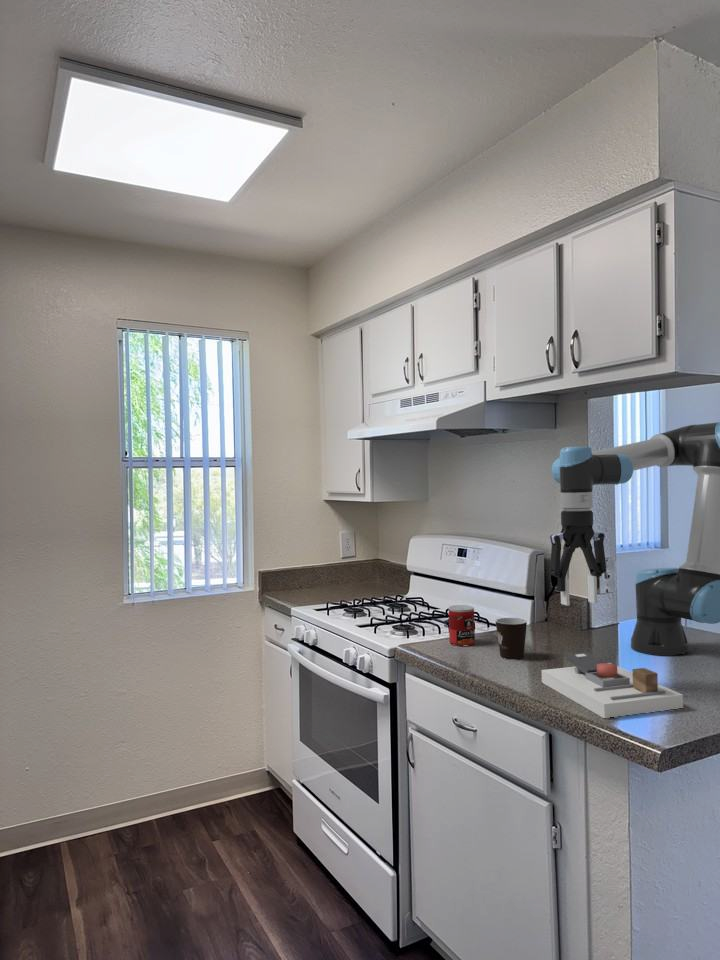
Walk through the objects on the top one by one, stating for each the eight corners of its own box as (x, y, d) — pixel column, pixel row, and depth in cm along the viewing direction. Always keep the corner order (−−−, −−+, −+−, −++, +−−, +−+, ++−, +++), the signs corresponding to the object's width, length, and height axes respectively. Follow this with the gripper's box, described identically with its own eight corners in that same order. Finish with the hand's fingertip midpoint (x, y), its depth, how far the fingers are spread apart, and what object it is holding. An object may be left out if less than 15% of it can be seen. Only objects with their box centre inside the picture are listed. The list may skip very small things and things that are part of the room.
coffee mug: (528, 661, 184) (527, 624, 183) (496, 660, 185) (495, 623, 185) (526, 650, 195) (525, 615, 195) (496, 649, 197) (495, 615, 197)
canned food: (458, 647, 199) (457, 610, 199) (444, 642, 207) (443, 606, 207) (480, 644, 203) (479, 608, 202) (465, 639, 210) (464, 603, 210)
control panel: (610, 674, 169) (609, 657, 169) (683, 708, 144) (682, 688, 144) (541, 682, 165) (541, 664, 165) (604, 718, 139) (604, 697, 139)
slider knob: (644, 685, 150) (644, 667, 150) (657, 691, 146) (657, 673, 146) (632, 687, 149) (632, 669, 149) (645, 693, 145) (645, 674, 145)
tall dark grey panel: (588, 656, 167) (588, 651, 167) (609, 672, 159) (610, 667, 158) (566, 658, 166) (566, 653, 165) (586, 675, 157) (587, 669, 157)
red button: (609, 671, 157) (609, 662, 157) (621, 676, 153) (621, 667, 153) (593, 672, 156) (593, 664, 156) (604, 678, 152) (604, 669, 152)
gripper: (548, 511, 159) (550, 609, 159) (621, 508, 164) (623, 603, 164) (532, 510, 166) (534, 603, 166) (603, 507, 171) (605, 598, 171)
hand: (579, 603), depth 165 cm, fingers open, 7 cm apart
